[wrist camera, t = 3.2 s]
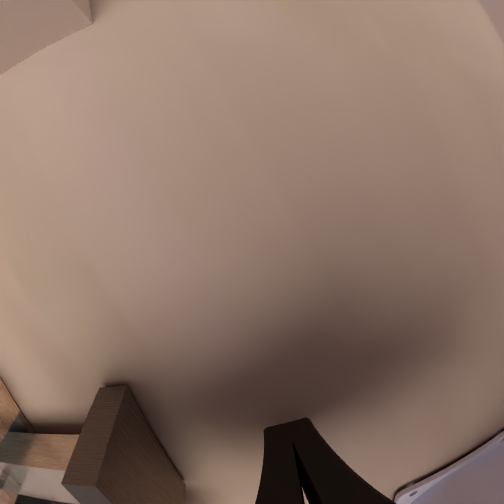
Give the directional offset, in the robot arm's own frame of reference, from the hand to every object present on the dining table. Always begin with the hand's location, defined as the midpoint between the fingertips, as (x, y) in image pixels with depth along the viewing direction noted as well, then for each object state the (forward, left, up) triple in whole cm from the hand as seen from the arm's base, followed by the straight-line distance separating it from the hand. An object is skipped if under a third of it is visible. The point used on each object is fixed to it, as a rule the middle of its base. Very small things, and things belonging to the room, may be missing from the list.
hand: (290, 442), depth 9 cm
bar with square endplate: (+8, 0, -1) cm, 8 cm away
